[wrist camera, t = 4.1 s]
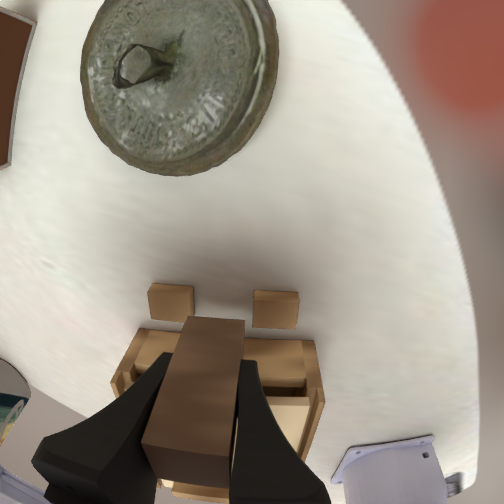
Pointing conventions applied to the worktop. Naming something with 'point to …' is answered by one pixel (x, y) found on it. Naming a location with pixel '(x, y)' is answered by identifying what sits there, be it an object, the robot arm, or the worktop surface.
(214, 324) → the walnut key
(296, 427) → the sliding lid
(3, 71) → the food container
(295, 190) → the worktop surface
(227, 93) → the grey small piece
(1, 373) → the lotion bottle
